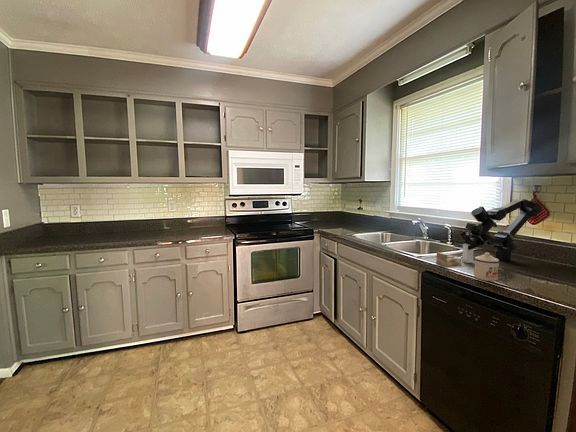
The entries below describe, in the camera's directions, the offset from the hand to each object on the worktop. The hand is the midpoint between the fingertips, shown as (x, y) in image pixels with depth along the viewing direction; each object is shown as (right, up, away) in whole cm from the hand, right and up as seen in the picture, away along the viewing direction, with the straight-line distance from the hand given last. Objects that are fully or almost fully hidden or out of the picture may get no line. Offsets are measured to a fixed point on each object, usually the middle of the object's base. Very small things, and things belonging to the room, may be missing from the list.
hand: (466, 248), depth 152 cm
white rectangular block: (+1, -8, +1) cm, 8 cm away
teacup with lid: (-6, -11, -25) cm, 28 cm away
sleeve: (-11, -8, -2) cm, 13 cm away
